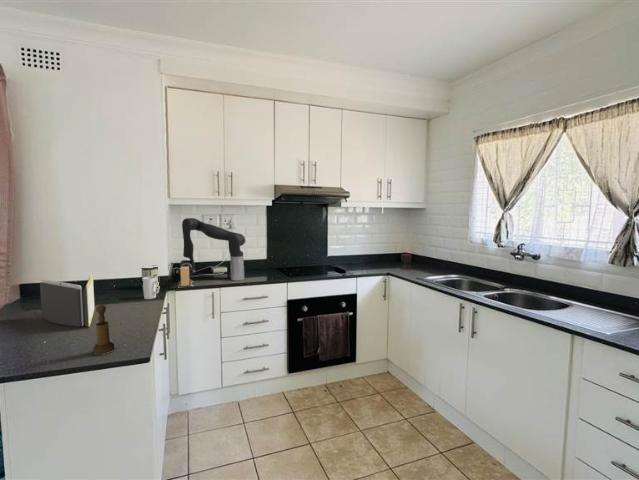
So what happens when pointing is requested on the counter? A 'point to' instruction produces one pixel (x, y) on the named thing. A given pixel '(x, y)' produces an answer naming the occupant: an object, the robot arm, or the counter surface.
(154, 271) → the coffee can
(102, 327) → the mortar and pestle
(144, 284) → the mug
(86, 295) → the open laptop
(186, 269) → the block
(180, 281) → the chute
